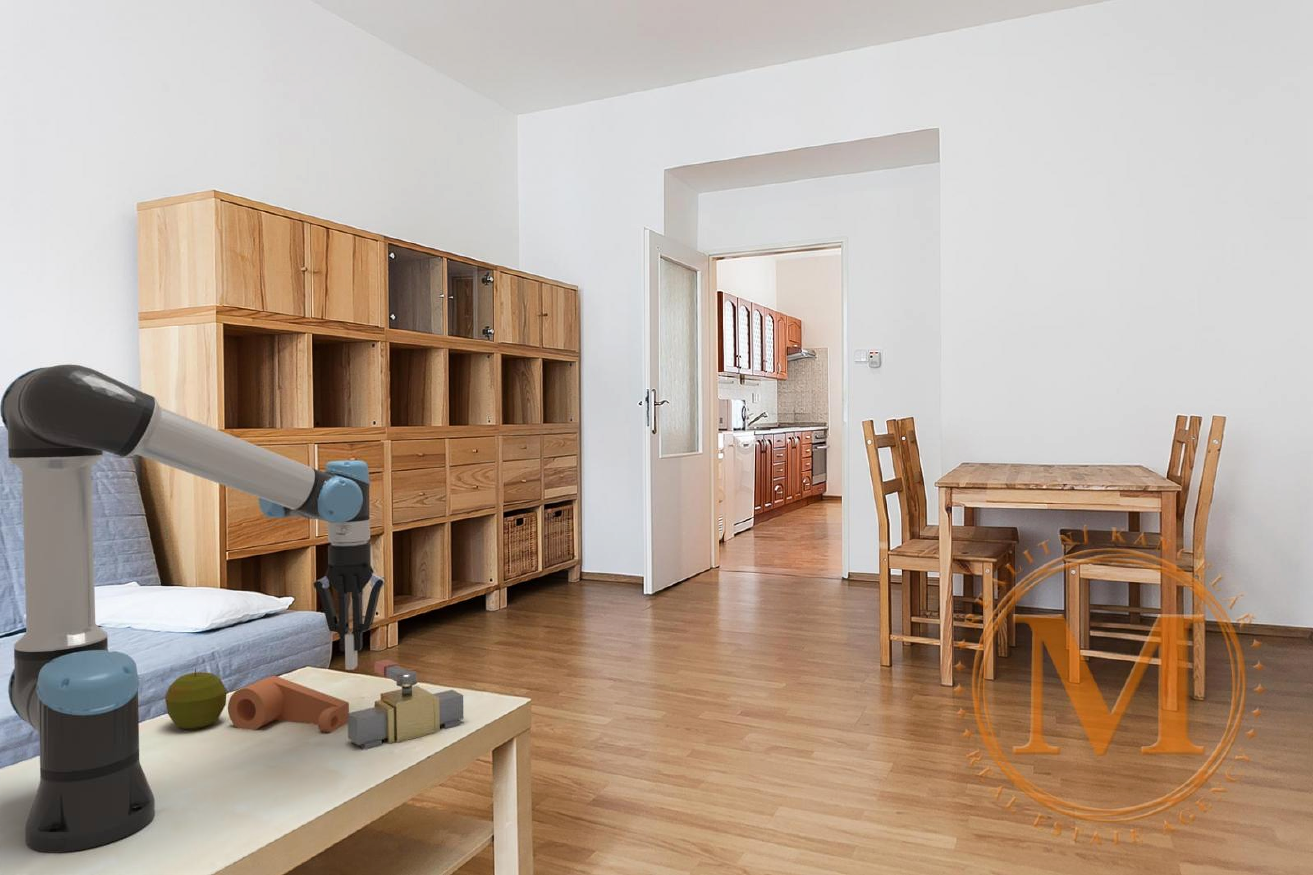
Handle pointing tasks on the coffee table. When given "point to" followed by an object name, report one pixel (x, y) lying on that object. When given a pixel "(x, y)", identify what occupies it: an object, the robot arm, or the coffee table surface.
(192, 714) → the apple
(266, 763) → the coffee table surface
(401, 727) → the grey and tan assembly
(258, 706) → the orange bent piece
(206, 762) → the coffee table surface
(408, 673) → the lever
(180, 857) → the coffee table surface
